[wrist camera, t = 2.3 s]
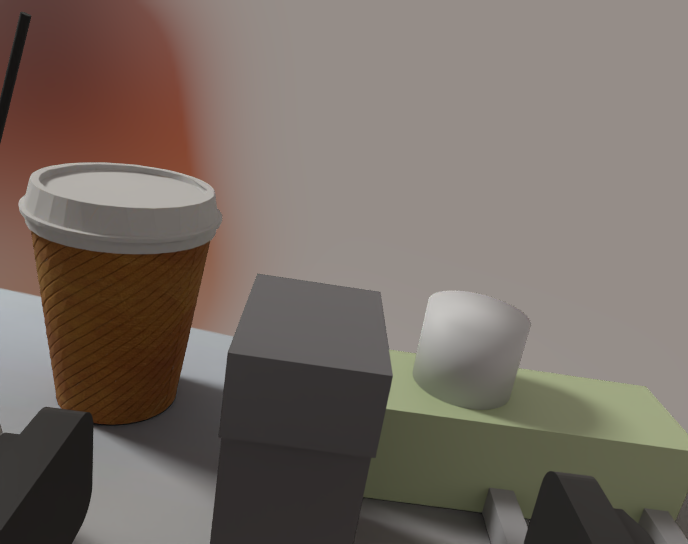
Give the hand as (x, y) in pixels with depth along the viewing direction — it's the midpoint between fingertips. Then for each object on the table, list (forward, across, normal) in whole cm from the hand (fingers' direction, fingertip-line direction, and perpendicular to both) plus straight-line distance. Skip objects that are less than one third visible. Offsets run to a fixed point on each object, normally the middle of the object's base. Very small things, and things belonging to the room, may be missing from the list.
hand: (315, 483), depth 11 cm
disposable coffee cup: (+22, +10, +12) cm, 27 cm away
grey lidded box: (+12, 0, +13) cm, 17 cm away
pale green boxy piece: (+15, -11, +13) cm, 22 cm away
